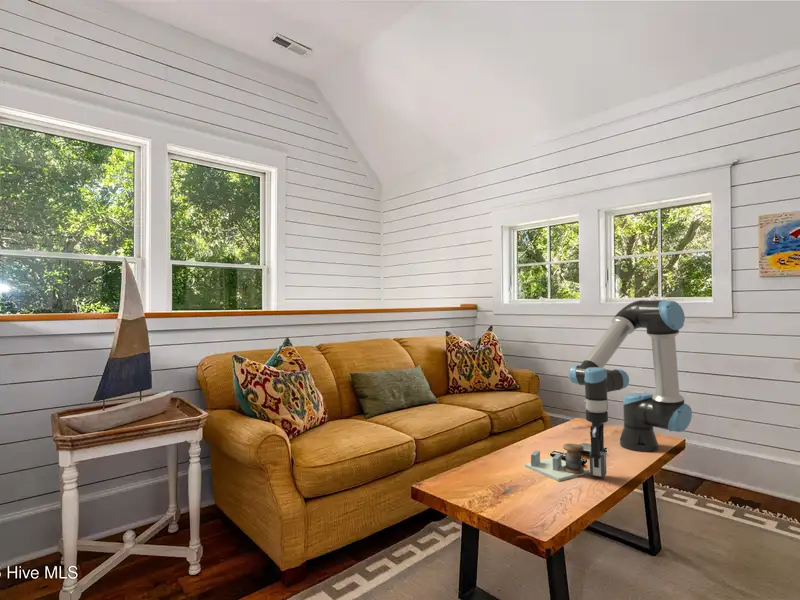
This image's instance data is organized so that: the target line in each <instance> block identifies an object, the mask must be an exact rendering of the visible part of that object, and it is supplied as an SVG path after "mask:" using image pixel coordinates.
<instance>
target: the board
mask: <svg viewBox="0 0 800 600" xmlns="http://www.w3.org/2000/svg"><path fill="white" fill-rule="evenodd" d="M553 457H554V456H552V457H548V458H544V459H540V463H539V464H538V465H537V466H536V467H533V466H531V462H528V463H524V467H525V468H527V469H529V470H532V471H534V472H537V473H539V474H541V475H543V476H545V477H547V478H550V479H552V480H555V481H557V482H561V481H565V480H568V479H572V478H576V477H579V476H583V475H587V474H590V469H587V468H584V467H583V468H584V472H583V473H581V474H572V473H568V472H566V471H564V466H566V460H564V459H561V463H562V466H561V467H560V469H559V470H558V471H555V470H553Z"/></svg>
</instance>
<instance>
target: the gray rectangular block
mask: <svg viewBox="0 0 800 600" xmlns="http://www.w3.org/2000/svg"><path fill="white" fill-rule="evenodd" d="M588 456H589V475H590V476H593V477H596V476H595V475H593V458H590V456H591V451H589V455H588ZM600 458H601V476H598V477H601V478H605V477H606V476H607V452H606V451H605V452H602V451H600Z"/></svg>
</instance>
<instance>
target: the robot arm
mask: <svg viewBox="0 0 800 600" xmlns="http://www.w3.org/2000/svg"><path fill="white" fill-rule="evenodd" d="M685 319H686V317H685V311H684V309H683V307H682V306H681V305H680V304H679V303H678V302H677V301H675V300H667V299H659V300H657V299H654V300H652V299H651V300H644V299H643V300H642V299H641V300H637V301H633V302H630V303H629V304H627V305H625V306H624V307H622V308H621V310H619V311H618V312H617V313H616V314H615V315H614V316H613V318H612V320H611V325H609V327H608V328H607V330H606V331H605V333H604V334H603V335H602V336H601V338H600V339H599V340H598V342H597V343H596V344H595V346H594V347H593V348H592V350H591V351H590V352H589V353H588V354H587V356H586V357H585V359H584V360H583V361H582V363H580V365H579V364H577V365H572V366H571V367H570V369H569V371H568V378H569V380H570V382H571V383H573V384H576V385H579V386H584V390H585V396H584V397H585V399H584V400H583V403H585V409H586V410H585V420H586V421H587V422H589V423H591V425H590V428H589V429H590V432H589V434H590V435H589V436H590V450H591V451H590V452H591V456H590V455H589V459H590V458H593V475H595V476H594V477H599V476H601V458H600V451H602V452H606V451H605V446H604V445H605V442H604V435H605V434H604V429H605V427H604V426H605V425H604V424H606V423H607V422H609V421H608V420H609V413H608V409H609V407H608V405H609V404H608V393H609V392H615V391H621V390H623V389H625V388H627V387H628V385H630V384H629V383H630V377H629V375H628V373H627V372H626V371H625V370H623V369H621V368H620V369H616V368H615V369H605V366H606V365H607V363H608V362H609V360H611V358H612V357H613V355H614V354H615V353H616V351H617V350H618V349H619V348H620V346H621V345H622V344H623V342H624V341H625V339H626V338H627V337H628V335H631V334H632V333H634V331H635V330H637V329H642V328H643V329H646V334H647V335H648V336H649V337H650V338H651V347H652V349H651V350H652V351H651V352H652V361H653V363H652V364H653V374H654V375H653V376H654V385H655V387H654V388H655V389H654V390H655V394H652V393H647V392H646V393H645V392H643V393H642V392H639V393H637V392H636V393H628V394H625V395H624V397H623V403H622V406H623V429H622V431H621V435H620V438H619V445H620V447H622V448H624V449H627V450H631V451H635V452H636V451H637V452H655V451H657V450H658V449H659V442H658V439H657V436H656V434H655V431H654V427H655V428H659V429H663V430H666V431H669V432H676V433H677V432H678V433H682V432H684V431H685V430H686V429H687V428H688V427H689V426H690V424H691V420H692V417H693V410H692V408H691V406H690V405H688V404H687V403H685V397H684V396H683V395H682V394H680V384H679V383H680V382H679V371H678V358H677V345H676V336H677V335H679V334H680V330H682V328H683V327H684V325H685ZM593 475H592V476H593Z"/></svg>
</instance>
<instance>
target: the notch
mask: <svg viewBox="0 0 800 600" xmlns="http://www.w3.org/2000/svg"><path fill="white" fill-rule="evenodd" d="M552 457H553V470H555V471H558V470H559V469H560V467H561V466H562V463H561V460H562V454H561V453H556V454H555V455H554V456H552ZM540 460H541V451H540V450H534V451H533V452H532V453H531V454H530V463H531V466H533V467H536V466H537V465H538V464H539V463H540Z"/></svg>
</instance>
